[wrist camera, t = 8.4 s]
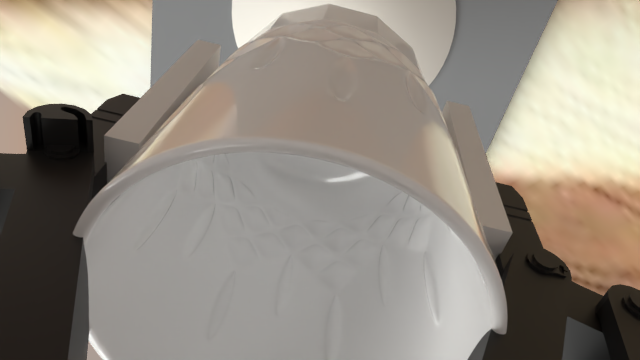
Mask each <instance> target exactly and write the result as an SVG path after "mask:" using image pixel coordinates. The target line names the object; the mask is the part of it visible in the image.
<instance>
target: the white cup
mask: <svg viewBox="0 0 640 360" xmlns="http://www.w3.org/2000/svg"><path fill="white" fill-rule="evenodd" d="M73 234H74V235H75V236H77V237H83V240H84V248H85V253H86V260H87V270H88V289H89V339H88V341H89V342H90V344H91V345H92V347H93V348H94V349H95V351H96V352H97V353H98V354H99V356H100V357H101V358H102V359H103V360H467V359H468V358H469V356H470V354H471V353H472V351H473V350H474V348H475V347H476V345H477V344H478V342H479V341H480V340H481V338H482V337H483V336H484V335H485V334H486V333H487V332H488V331H489V330H490V329H491V328H492V330H493V331H494V332H496V333H498V334H506V332H507V320H508V313H507V301H506V295H505V291H504V287H503V283H502V280H501V277H500V274H499V271H498V268H497V266H496V263H495V260H494V257H493V254H492V251H491V249H490V246H489V243H488V240H487V237H486V234H485V231H484V229H483V226H482V223H481V220H480V217H479V214H478V211H477V209H476V207H475V204H474V201H473V198H472V195H471V192H470V189H469V186H468V183H467V180H466V177H465V174H464V171H463V168H462V165H461V161H460V158H459V155H458V152H457V149H456V146H455V144H454V142H453V139H452V137H451V135H450V133H449V131H448V128H447V125H446V122H445V119H444V117H443V115H442V112H441V110H440V108H439V105H438V102H437V100H436V97H435V95H434V93H433V91H432V90H431V88H430V87H429V86H428V84H427V83H426V81H425V79H424V76H423V73H422V71H421V68H420V66H419V63H418V60H417V58H416V55H415V52H414V50H413V48H412V47H411V46H410V45H409V44H408V43H407V42H406V41H404V40H403V39H402V38H401V37H400V36H399V35H398V34H396V33H395V32H394V31H393V30H392V29H391V28H390V27H389V26H387V25H386V24H385V23H384V22H383V21H382V20H381V19H380V18H378V17H377V16H374V15H370V14H367V13H363V12H359V11H356V10H352V9H348V8H344V7H341V6H337V5H333V4H325V5H320V6H315V7H310V8H305V9H301V10H296V11H291V12H286V13H282V14H281V15H280V16H278V17H277V18H276V19H275V20H273V21H272V22H271V23H270V24H269V25H267V26H266V27H265V28H264V29H262V30H261V31H260V32H259V33H257V34H256V35H255V36H254V37H253V38H251V39H250V40H249V41H248V42H247V43H246V44H244V45H242V46H241V47H239V48H238V49H237V50H236V51H235V52H234V53H233V54H232V55H231V56H230V57H229V58H228V59H227V60H226V61H225V62H224V63H223V64H221V65H220V66H219V67H218V68H217V69H216V70H215V71H214V72H213V73H212V74H211V75H210V76H209V77H208V78H207V79H206V80H205V81H204V82H203V83H202V84H201V85H199V86H198V87H197V88H196V89H195V90H194V91H193V92H192V93H191V94H190V95H189V96H188V97H187V99H186V100H185V101H184V102H183V103H182V104H181V105H180V106H179V107H178V108H177V109H176V110H175V112H174V113H173V114H172V115H171V116H170V117H169V118H168V119H167V120H166V121H165V122H164V123H163V124H162V125H161V127H160V128H159V129H158V130H157V131H156V132H155V133H154V134H153V135H152V136H151V137H150V138H149V140H148V141H147V142H146V143H145V144H144V145H143V146H142V147H141V148H140V149H139V150H138V151H137V152H136V153H135V154H134V156H133V157H132V158H131V159H130V160H129V161H128V162H127V163H126V164H125V165H124V166H123V167H122V168H121V169H120V170H119V171H118V172H117V173H116V175H115V176H114V177H113V178H112V179H111V180H110V181H109V182H108V183H107V184H106V185H105V186H104V187H103V188H102V189H101V190H100V191H99V192H98V193H97V195H96V196H95V197H94V198H93V199H92V200H91V202H90V203H89V204H88V206H87V207H86V208H85V210H84V211H83V213H82V215H81V216H80V218H79V220H78V222H77V224H76V226H75V229H74V231H73Z"/></svg>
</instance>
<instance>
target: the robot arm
mask: <svg viewBox="0 0 640 360" xmlns="http://www.w3.org/2000/svg"><path fill="white" fill-rule="evenodd" d="M220 50H221V45H218V44H214V43H210V42H206V41H202V40H197V41H196V42H195V43H194V44H193V45H192V46H191V47H190V48H189V49H188V50H187V51H186V52H185V53H184V54H183V55H182V56H181V57H180V58H179V59H178V60H177V61H176V62H175V63H174V64H173V65H172V66H171V67H170V69H169V70H168V71H167V72H166V73H165V74H164V75H163V76H162V77H161V78H160V79H159V80H158V81H157V82H156V83H155V84H154V85H153V86H152V87H151V88H150V89H149V90H148V91H147V92H146V93H145V94H144V95H143V96H142V97H141V98H138V97H134V96H130V95H126V94H121V95H119V96H116V97H113V98H110V99H108V100H106V101H105V102H104V103H103V104H102V105H101V106H100V107H99V108H98V109H97V110H95V111H94V112H93V113H92V114H90V113H89V112H87V111H86V110H85V109H82V108H80V107H77V106H74V105H67V104H47V105H43V106H38V107H35V108H33V109H31V110H29V111H27V113H26V114H25V115H24V116H23V123H24V130H25V138H26V145H27V153H26V154H2V153H0V360H86V359H87V349H88V339H89V289H88V270H87V260H86V253H85V248H84V240H83V237H77V236H75V235H74V234H73V231H74V229H75V226H76V224H77V222H78V220H79V218H80V216H81V215H82V213H83V211H84V210H85V208H86V207H87V206H88V204H89V203H90V202H91V200H92V199H93V198H94V197H95V196H96V195H97V193H98V192H99V191H100V190H101V189H102V188H103V187H104V186H105V185H106V184H107V183H108V182H109V181H110V180H111V179H112V178H113V177H114V176H115V175H116V173H117V172H118V171H119V170H120V169H121V168H122V167H123V166H124V165H125V164H126V163H127V162H128V161H129V160H130V159H131V158H132V157H133V156H134V154H135V153H136V152H137V151H138V150H139V149H140V148H141V147H142V146H143V145H144V144H145V143H146V142H147V141H148V140H149V138H150V137H151V136H152V135H153V134H154V133H155V132H156V131H157V130H158V129H159V128H160V127H161V125H162V124H163V123H164V122H165V121H166V120H167V119H168V118H169V117H170V116H171V115H172V114H173V113H174V112H175V110H176V109H177V108H178V107H179V106H180V105H181V104H182V103H183V102H184V101H185V100H186V99H187V97H188V96H189V95H190V94H191V93H192V92H193V91H194V90H195V89H196V88H197V87H198V86H199V85H201V84H202V83H203V82H204V81H205V80H206V79H207V78H208V77H209V76H210V75H211V74H212V73H213V72H214V71H215V70H216V69H217V68H218V67H219V59H220ZM442 115H443V117H444V119H445V122H446V125H447V128H448V131H449V133H450V135H451V137H452V139H453V142H454V144H455V146H456V149H457V152H458V155H459V158H460V161H461V165H462V168H463V171H464V174H465V177H466V180H467V183H468V186H469V189H470V192H471V195H472V198H473V201H474V204H475V207H476V209H477V211H478V214H479V217H480V220H481V223H482V226H483V229H484V231H485V234H486V237H487V240H488V243H489V246H490V249H491V251H492V254H493V257H494V260H495V263H496V266H497V268H498V271H499V274H500V277H501V280H502V283H503V287H504V291H505V295H506V301H507V313H508V320H507V332H506V334H498V333H496V332H494V331H493V330H492V328H491V329H490V330H489V331H488V332H487V333H486V334H485V335H484V336H483V337H482V338H481V340H480V341H479V342H478V344H477V345H476V347H475V348H474V350H473V351H472V353H471V354H470V356H469V358H468V359H467V360H640V290H637V289H635V288H633V287H630V286H625V285H614V286H612V287H611V288H610V289H609V290H608V291H607V292H606V294H605V295H604V296H602V295H600V294H598V293H596V292H593V291H591V290H589V289H587V288H585V287H582V286H580V285H578V284H576V283H574V282H572V281H571V279H572V278H571V273H570V270H569V269H568V267H567V266H566V264H565V263H564V262H563V261H562V260H561V259H559V258H558V257H557V256H556V255H554V254H553V253H551V252H549V251H548V250H546V249H543V246H542V244H541V241H540V239H539V236H538V234H537V231H536V229H535V227H534V224H533V222H531V220H532V219H531V217H530V214H529V212H527V211H528V209H527V207H526V205H525V202H524V200H523V198H522V197H521V196H520V195H519V194H518V192H517V191H516V190H515V189H514V188H513V187H512V186H509V185H505V184H500V183H496V182H495V180H494V177H493V174H492V171H491V168H490V165H489V163H488V160H487V157H486V154H485V151H484V148H483V145H482V142H481V139H480V136H479V134H478V131H477V128H476V125H475V122H474V119H473V116H472V113H471V110H470V108H469V106H466V105H462V104H458V103H454V102H450V101H446V104H445V106H444V109H443V111H442Z"/></svg>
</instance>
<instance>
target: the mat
mask: <svg viewBox="0 0 640 360" xmlns="http://www.w3.org/2000/svg"><path fill="white" fill-rule="evenodd" d="M557 1H558V0H153V11H152V49H151V87H152V86H153V85H154V84H155V83H156V82H157V81H158V80H159V79H160V78H161V77H162V76H163V75H164V74H165V73H166V72H167V71H168V70H169V69H170V67H171V66H172V65H173V64H174V63H175V62H176V61H177V60H178V59H179V58H180V57H181V56H182V55H183V54H184V53H185V52H186V51H187V50H188V49H189V48H190V47H191V46H192V45H193V44H194V43H195V42H196V41H197V40H202V41H206V42H210V43H214V44H218V45H221V50H220V59H219V66H220V65H221V64H223V63H224V62H225V61H226V60H227V59H228V58H229V57H230V56H231V55H232V54H233V53H234V52H235V51H236V50H237V49H238V48H239V47H241V46H242V45H244V44H246V43H247V42H248V41H249V40H250V39H251V38H253V37H254V36H255V35H256V34H257V33H259V32H260V31H261V30H262V29H264V28H265V27H266V26H267V25H269V24H270V23H271V22H272V21H273V20H275V19H276V18H277V17H278V16H280V15H281V14H282V13H286V12H291V11H296V10H301V9H305V8H310V7H315V6H320V5H325V4H333V5H337V6H341V7H344V8H348V9H352V10H356V11H359V12H363V13H367V14H370V15H374V16H377V17H378V18H380V19H381V20H382V21H383V22H384V23H385V24H386V25H387V26H389V27H390V28H391V29H392V30H393V31H394V32H395V33H396V34H398V35H399V36H400V37H401V38H402V39H403V40H404V41H406V42H407V43H408V44H409V45H410V46H411V47H412V48H413V50H414V52H415V55H416V58H417V60H418V63H419V66H420V68H421V71H422V73H423V76H424V79H425V81H426V83H427V84H428V86H429V87H430V88H431V90H432V91H433V93H434V95H435V97H436V100H437V102H438V105H439V108H440V110H441V112H442V111H443V109H444V106H445V104H446V101H450V102H454V103H458V104H462V105H466V106H469V108H470V110H471V113H472V116H473V119H474V122H475V125H476V128H477V131H478V134H479V136H480V139H481V142H482V145H483V148H484V151H485V154H486V152H487V150H488V147H489V145H490V143H491V141H492V139H493V137H494V135H495V133H496V130H497V128H498V126H499V124H500V122H501V120H502V118H503V116H504V113H505V111H506V109H507V107H508V105H509V103H510V101H511V99H512V96H513V94H514V92H515V90H516V88H517V86H518V84H519V82H520V79H521V77H522V75H523V73H524V71H525V69H526V67H527V65H528V63H529V60H530V58H531V56H532V54H533V52H534V50H535V48H536V46H537V43H538V41H539V39H540V37H541V35H542V33H543V31H544V29H545V26H546V24H547V22H548V20H549V18H550V16H551V14H552V12H553V9H554V7H555V5H556V3H557ZM151 87H150V88H151Z"/></svg>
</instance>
